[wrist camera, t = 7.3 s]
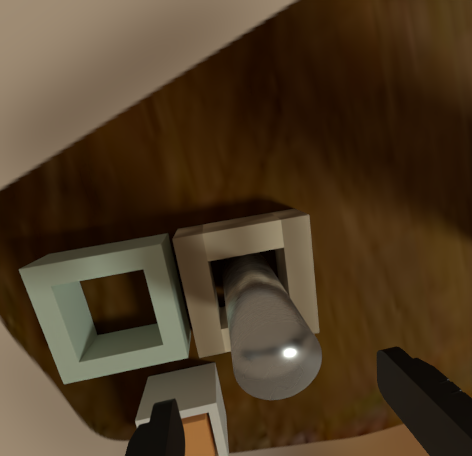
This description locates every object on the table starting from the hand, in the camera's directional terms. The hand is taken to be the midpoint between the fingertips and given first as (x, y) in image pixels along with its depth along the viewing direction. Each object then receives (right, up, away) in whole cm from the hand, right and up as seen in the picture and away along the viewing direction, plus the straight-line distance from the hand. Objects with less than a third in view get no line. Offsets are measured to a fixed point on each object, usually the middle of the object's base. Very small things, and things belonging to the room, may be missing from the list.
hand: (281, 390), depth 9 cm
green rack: (-11, +1, +10) cm, 15 cm away
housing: (-6, -9, +13) cm, 17 cm away
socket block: (-1, +2, +11) cm, 11 cm away
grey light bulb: (-1, +2, +11) cm, 11 cm away
